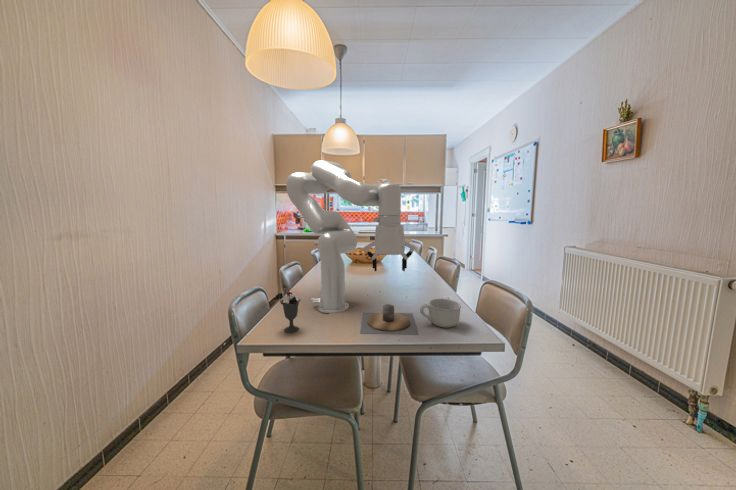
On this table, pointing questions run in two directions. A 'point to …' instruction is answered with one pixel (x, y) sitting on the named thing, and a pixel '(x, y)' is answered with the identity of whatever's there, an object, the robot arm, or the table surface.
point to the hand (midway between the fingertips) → (389, 270)
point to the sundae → (290, 310)
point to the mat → (368, 330)
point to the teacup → (442, 312)
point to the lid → (388, 320)
